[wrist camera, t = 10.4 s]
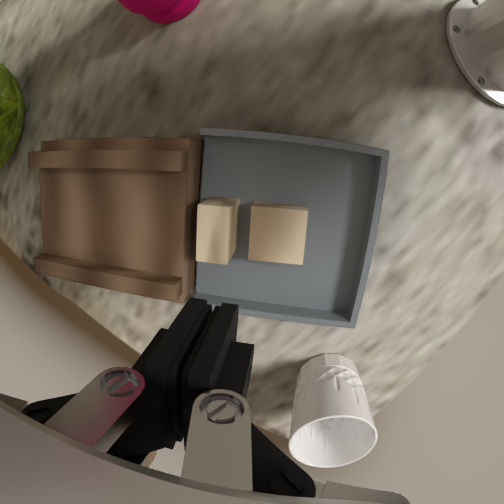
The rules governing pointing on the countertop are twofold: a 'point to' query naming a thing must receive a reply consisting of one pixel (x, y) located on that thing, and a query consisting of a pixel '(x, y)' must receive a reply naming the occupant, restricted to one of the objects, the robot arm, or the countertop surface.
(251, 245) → the chip
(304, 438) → the white cup
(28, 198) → the countertop surface
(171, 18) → the pepper mill
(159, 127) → the countertop surface
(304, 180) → the tray
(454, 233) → the countertop surface
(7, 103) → the lettuce
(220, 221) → the chip
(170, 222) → the brown wooden box
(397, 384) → the countertop surface
